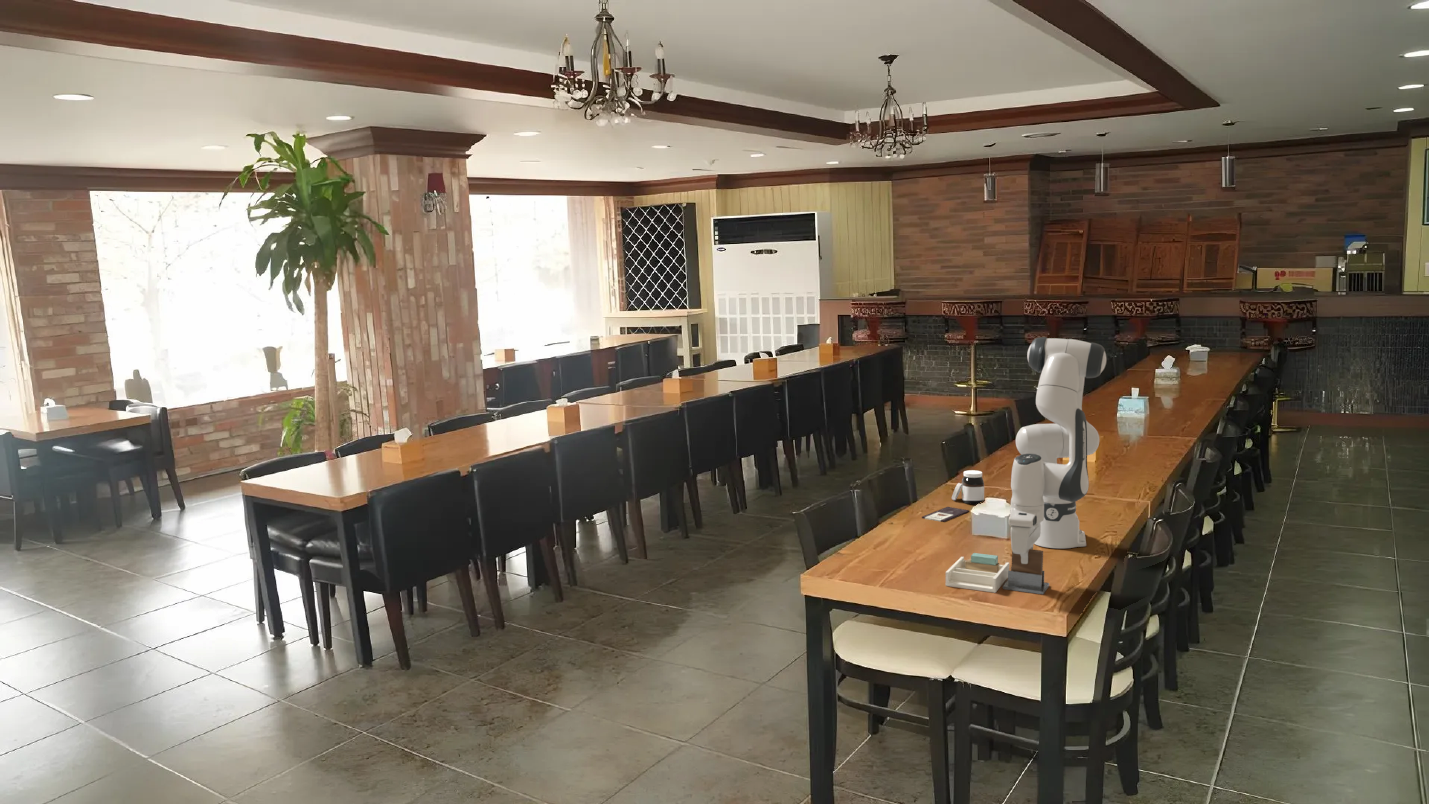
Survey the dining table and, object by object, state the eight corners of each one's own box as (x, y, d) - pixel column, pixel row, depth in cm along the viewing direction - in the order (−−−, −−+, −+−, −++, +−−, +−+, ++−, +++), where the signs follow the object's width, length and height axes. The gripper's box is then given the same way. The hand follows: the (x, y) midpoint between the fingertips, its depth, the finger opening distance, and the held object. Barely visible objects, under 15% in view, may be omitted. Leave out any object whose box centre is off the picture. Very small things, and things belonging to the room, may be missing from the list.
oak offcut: (968, 568, 285) (968, 559, 284) (999, 572, 280) (999, 562, 280) (965, 571, 282) (965, 561, 282) (996, 575, 278) (996, 565, 277)
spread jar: (986, 505, 361) (986, 474, 359) (955, 506, 361) (956, 475, 360) (978, 497, 373) (978, 468, 371) (948, 498, 373) (949, 468, 372)
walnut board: (1012, 580, 273) (1013, 546, 272) (1041, 585, 269) (1043, 550, 268) (1011, 583, 272) (1012, 548, 270) (1040, 587, 268) (1041, 552, 266)
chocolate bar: (969, 510, 352) (943, 520, 340) (969, 512, 353) (943, 523, 340) (947, 506, 359) (921, 516, 346) (947, 509, 359) (921, 519, 346)
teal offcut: (973, 559, 284) (973, 552, 284) (997, 562, 280) (997, 555, 280) (970, 562, 281) (971, 555, 281) (995, 565, 278) (995, 558, 278)
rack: (961, 569, 288) (961, 556, 287) (1009, 575, 281) (1009, 562, 280) (945, 585, 274) (945, 572, 273) (995, 592, 267) (995, 578, 266)
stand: (1009, 580, 277) (1009, 564, 276) (1049, 585, 271) (1049, 569, 270) (1002, 588, 270) (1002, 572, 269) (1043, 594, 264) (1043, 577, 264)
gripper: (1023, 503, 278) (1023, 549, 280) (1007, 520, 260) (1006, 570, 262) (1046, 505, 275) (1045, 552, 277) (1031, 523, 257) (1030, 573, 259)
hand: (1026, 561), depth 269 cm, fingers open, 3 cm apart
